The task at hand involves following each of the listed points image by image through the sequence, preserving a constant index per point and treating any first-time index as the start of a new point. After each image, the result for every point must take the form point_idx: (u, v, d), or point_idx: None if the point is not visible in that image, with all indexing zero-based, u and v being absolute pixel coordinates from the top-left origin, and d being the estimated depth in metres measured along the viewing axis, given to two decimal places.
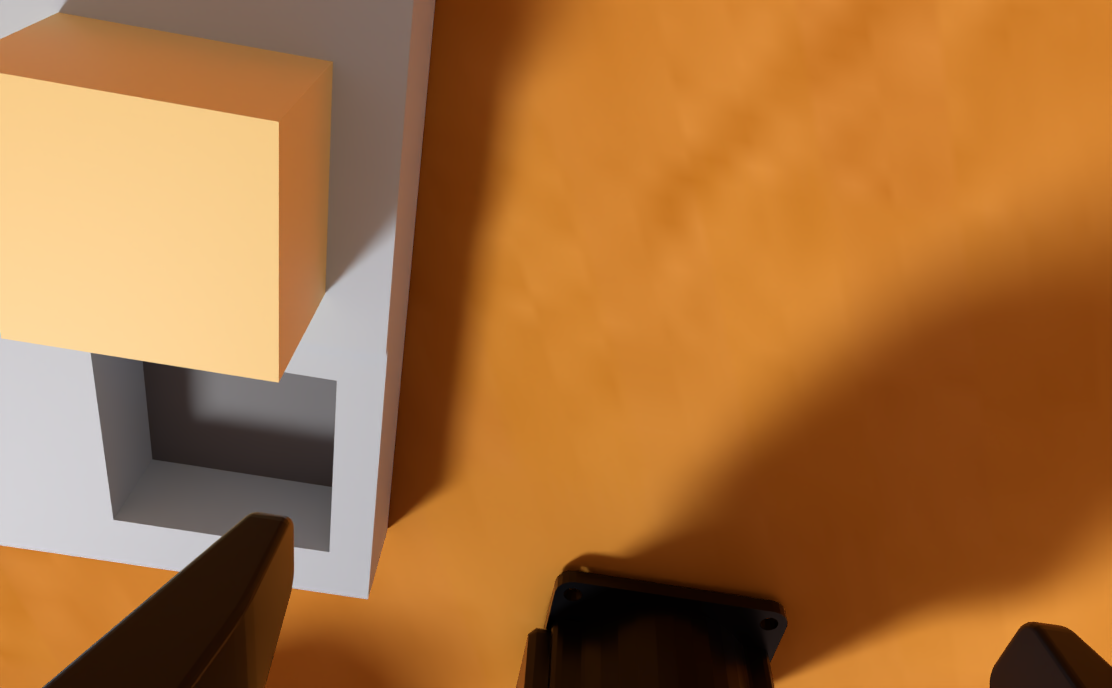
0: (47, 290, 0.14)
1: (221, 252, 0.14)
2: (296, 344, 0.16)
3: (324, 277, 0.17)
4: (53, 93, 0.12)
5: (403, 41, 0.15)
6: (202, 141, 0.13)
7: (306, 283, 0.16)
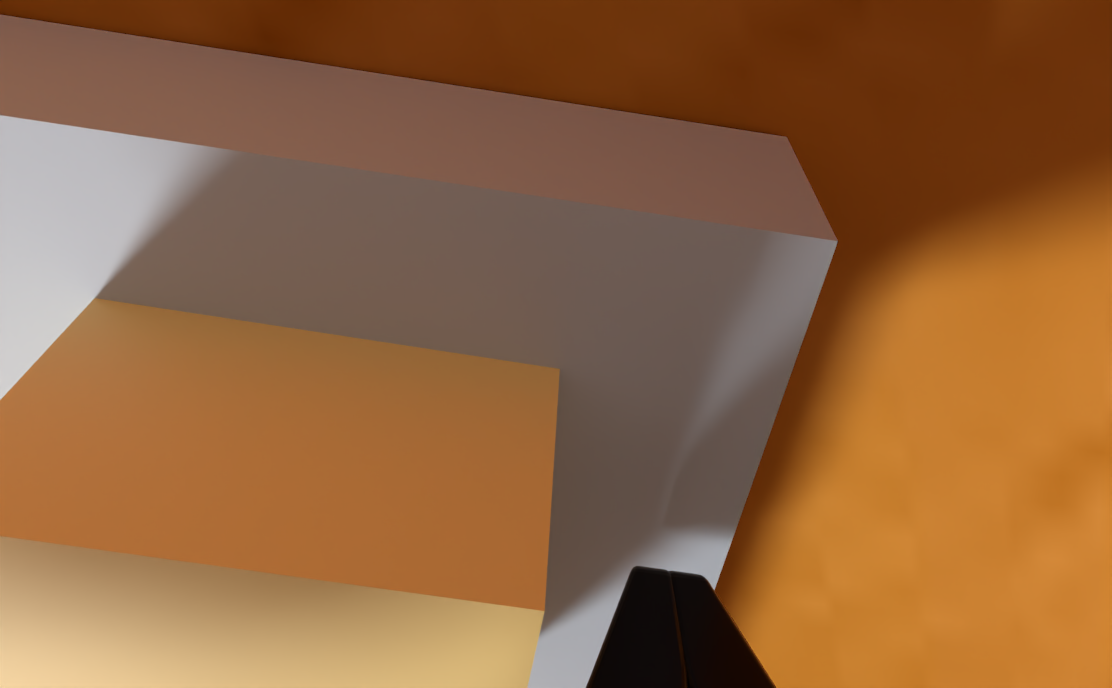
0: None
1: None
2: None
3: None
4: (101, 566, 0.06)
5: (786, 352, 0.09)
6: (387, 636, 0.07)
7: None
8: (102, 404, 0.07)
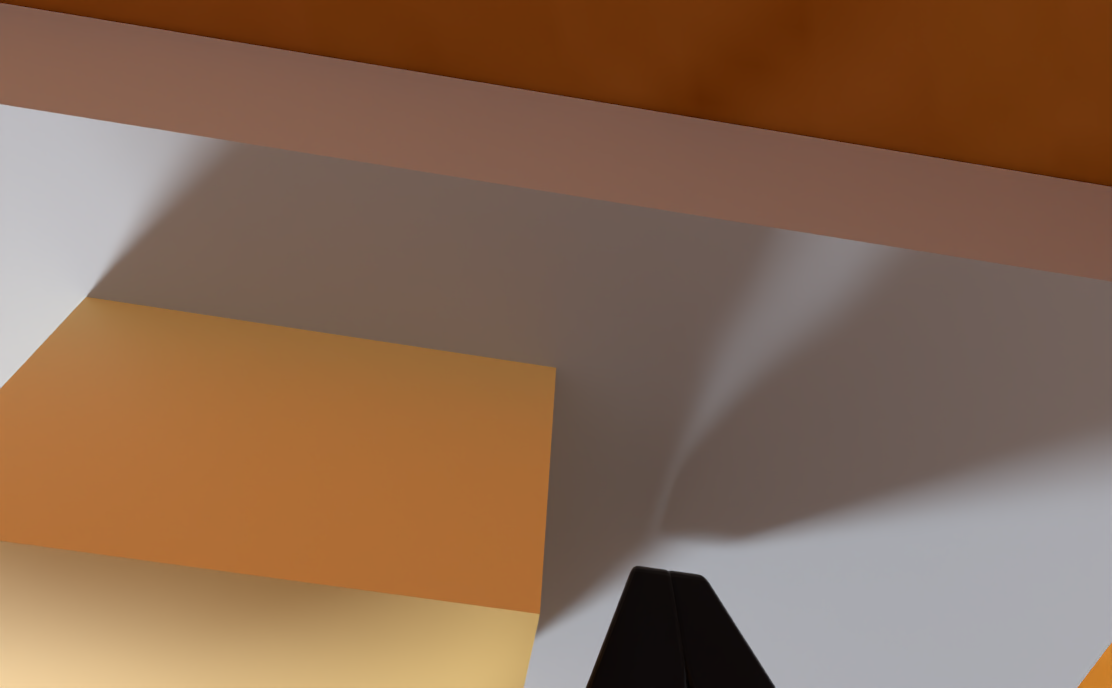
0: None
1: None
2: None
3: None
4: (89, 569, 0.06)
5: None
6: (380, 639, 0.06)
7: None
8: (92, 404, 0.07)
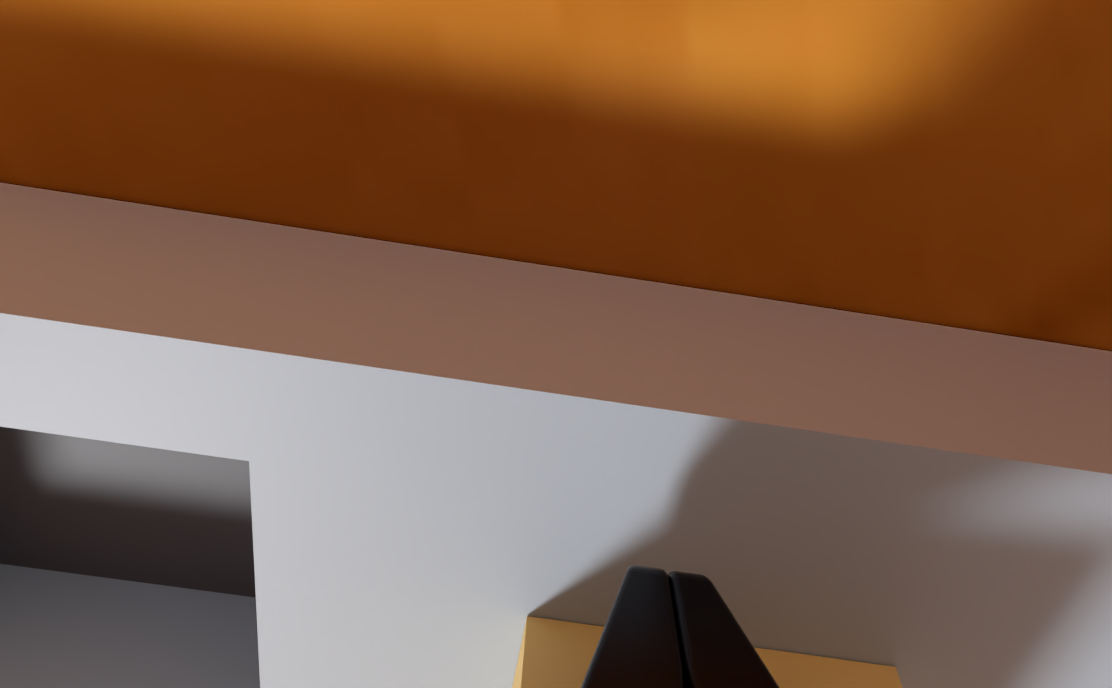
0: None
1: None
2: None
3: None
4: None
5: None
6: None
7: None
8: None
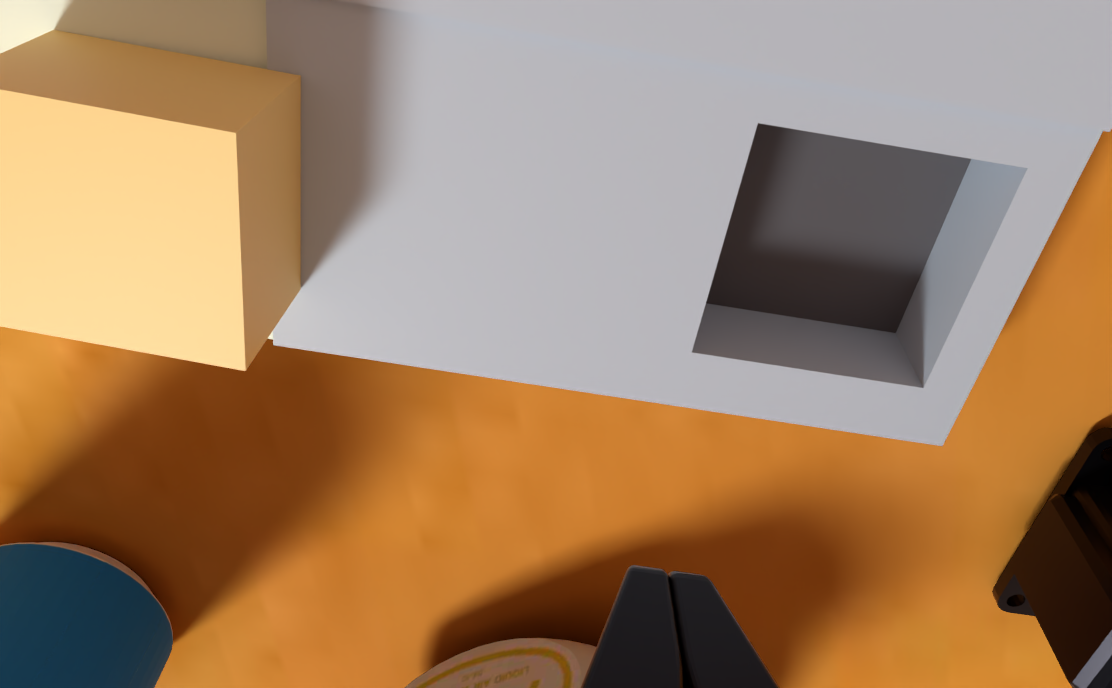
0: (37, 282, 0.16)
1: (190, 251, 0.15)
2: (266, 336, 0.17)
3: (298, 274, 0.18)
4: (36, 105, 0.14)
5: None
6: (168, 150, 0.14)
7: (276, 280, 0.17)
8: (48, 60, 0.15)
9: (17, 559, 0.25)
